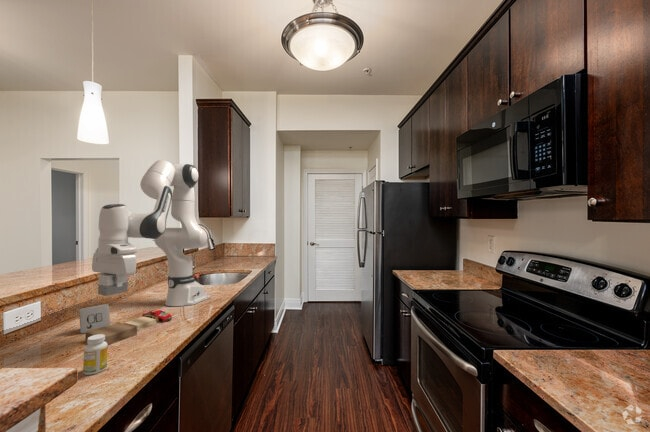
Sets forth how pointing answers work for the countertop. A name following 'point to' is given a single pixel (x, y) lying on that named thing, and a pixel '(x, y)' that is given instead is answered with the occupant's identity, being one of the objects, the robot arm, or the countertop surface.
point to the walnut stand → (114, 332)
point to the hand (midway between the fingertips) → (112, 285)
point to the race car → (158, 315)
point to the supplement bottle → (95, 355)
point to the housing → (110, 284)
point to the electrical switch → (94, 317)
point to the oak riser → (142, 322)
